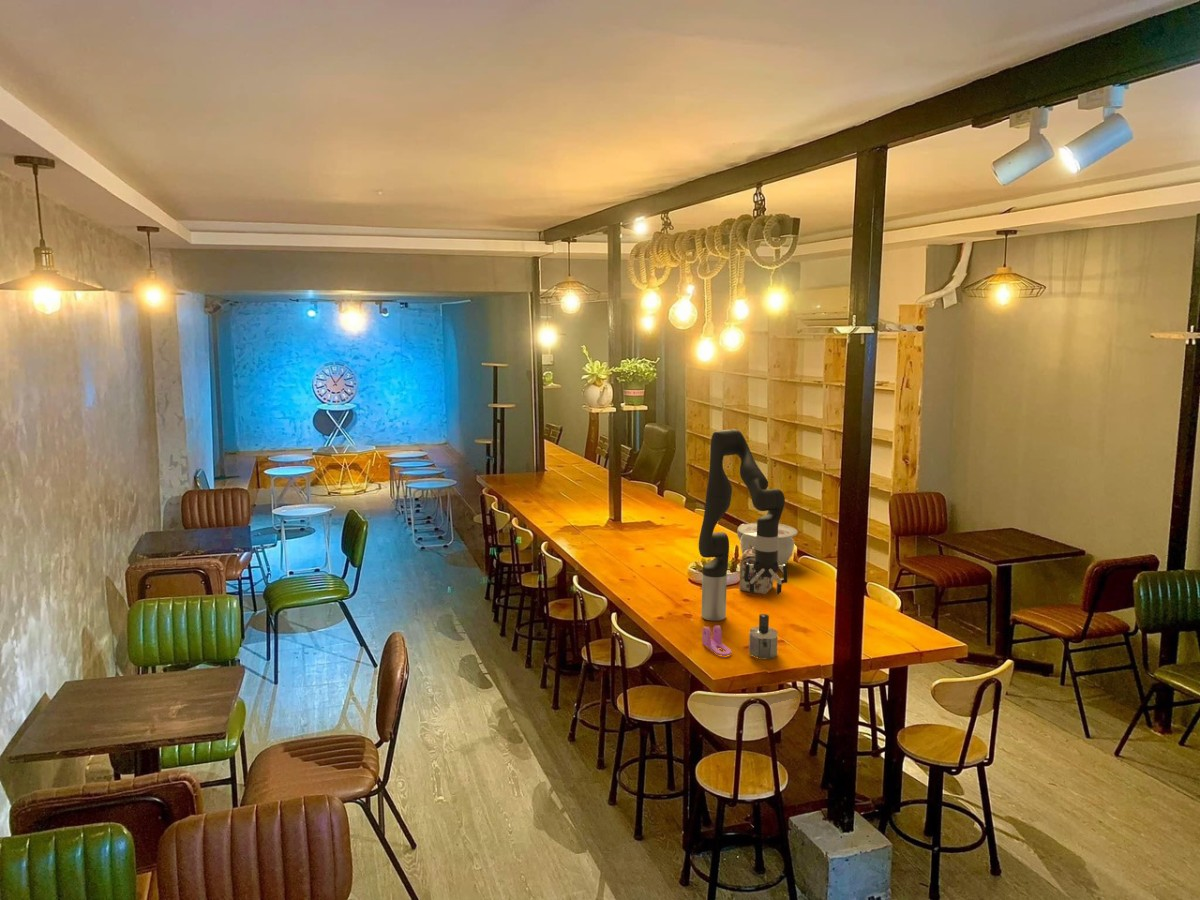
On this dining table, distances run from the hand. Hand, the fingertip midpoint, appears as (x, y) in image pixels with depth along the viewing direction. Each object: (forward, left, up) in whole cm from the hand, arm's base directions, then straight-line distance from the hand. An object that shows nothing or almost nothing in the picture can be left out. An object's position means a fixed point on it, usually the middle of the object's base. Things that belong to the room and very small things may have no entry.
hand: (765, 593), depth 281 cm
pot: (0, 0, -22) cm, 22 cm away
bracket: (-2, -15, -22) cm, 27 cm away
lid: (0, 0, -15) cm, 15 cm away
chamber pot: (-104, +13, -22) cm, 107 cm away
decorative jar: (-69, +5, -22) cm, 73 cm away
